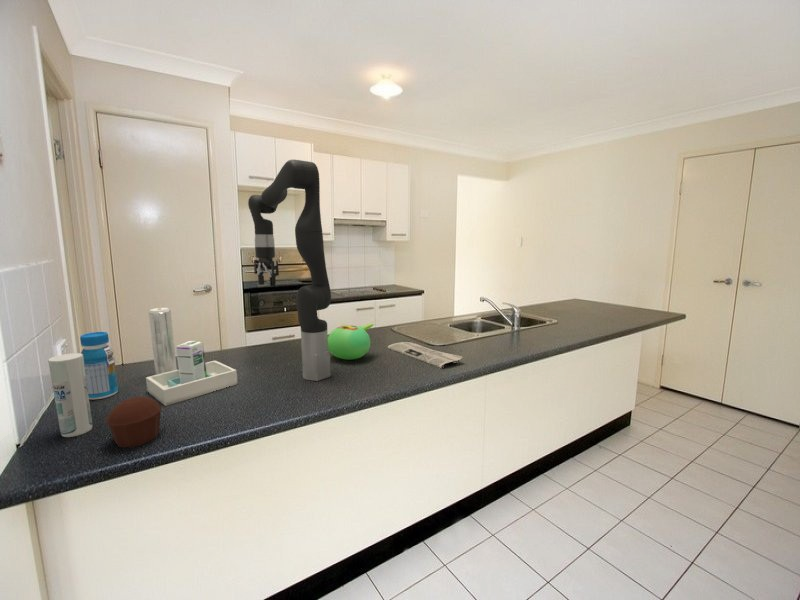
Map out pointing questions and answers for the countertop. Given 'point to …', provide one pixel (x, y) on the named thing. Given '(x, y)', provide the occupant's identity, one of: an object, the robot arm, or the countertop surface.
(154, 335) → the silver metal cylinder
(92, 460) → the countertop surface
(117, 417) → the muffin
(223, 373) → the bin
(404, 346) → the newspaper
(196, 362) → the syrup box
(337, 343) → the green rounded pot shape
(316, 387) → the countertop surface
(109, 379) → the blue supplement bottle
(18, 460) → the countertop surface
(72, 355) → the spray can
